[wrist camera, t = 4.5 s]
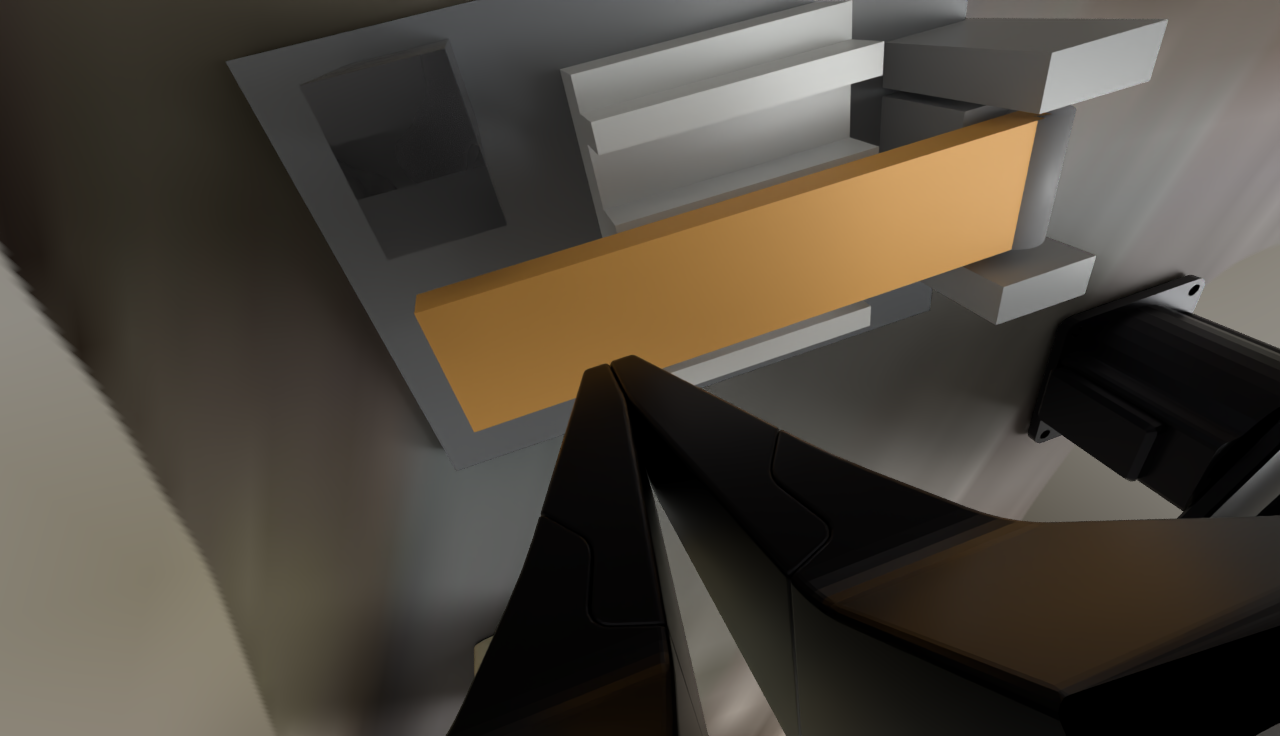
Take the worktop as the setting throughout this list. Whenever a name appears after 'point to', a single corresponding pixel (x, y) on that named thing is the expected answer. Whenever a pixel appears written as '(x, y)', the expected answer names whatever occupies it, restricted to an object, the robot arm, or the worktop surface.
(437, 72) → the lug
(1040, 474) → the worktop surface
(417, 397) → the clamp base
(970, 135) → the strap
